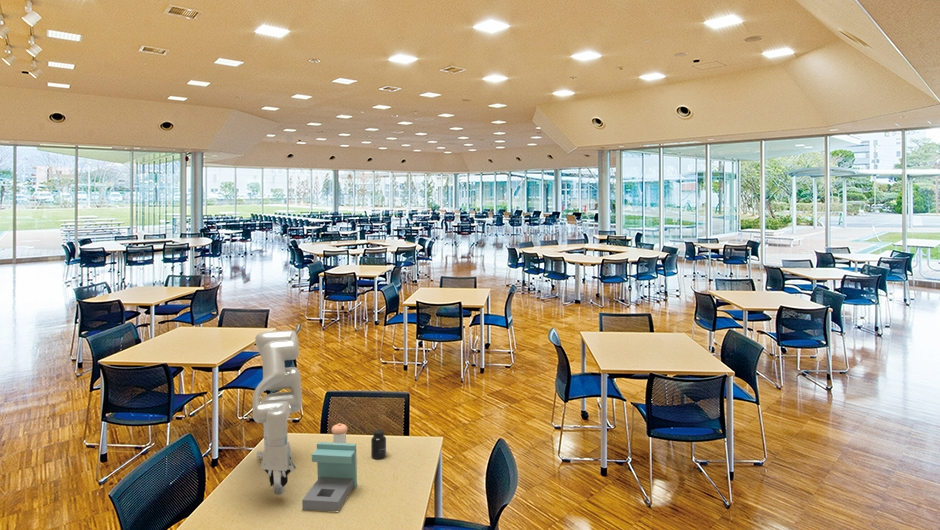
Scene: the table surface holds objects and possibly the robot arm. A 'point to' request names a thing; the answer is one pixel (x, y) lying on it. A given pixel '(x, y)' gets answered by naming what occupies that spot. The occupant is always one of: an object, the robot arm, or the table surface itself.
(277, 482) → the peg
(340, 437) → the salt shaker
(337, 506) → the socket stand
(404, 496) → the table surface
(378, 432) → the supplement bottle
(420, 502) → the table surface
